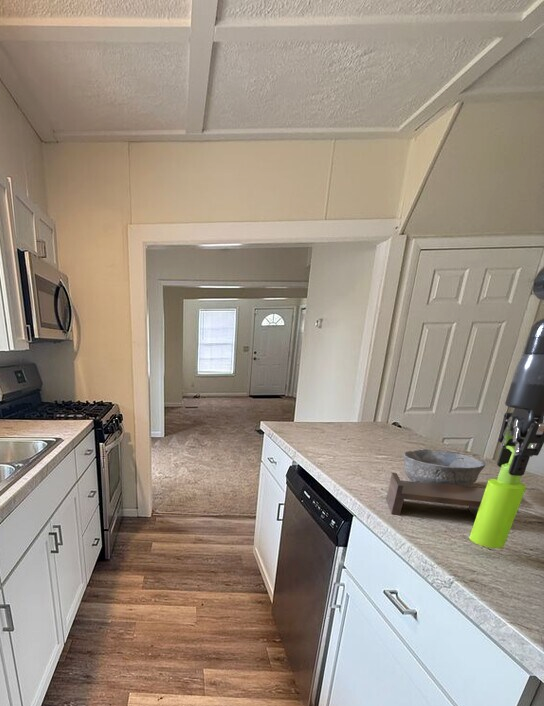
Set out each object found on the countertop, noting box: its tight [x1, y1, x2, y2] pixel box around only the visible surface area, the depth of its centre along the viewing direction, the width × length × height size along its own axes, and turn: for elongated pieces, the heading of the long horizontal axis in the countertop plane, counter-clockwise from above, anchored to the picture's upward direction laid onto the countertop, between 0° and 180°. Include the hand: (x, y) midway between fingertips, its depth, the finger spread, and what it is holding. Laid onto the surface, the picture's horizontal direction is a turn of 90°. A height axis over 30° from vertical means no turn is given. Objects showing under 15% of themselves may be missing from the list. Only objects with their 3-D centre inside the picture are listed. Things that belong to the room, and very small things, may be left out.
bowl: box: [403, 449, 487, 487], centre depth 122 cm, size 21×21×10 cm
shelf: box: [385, 472, 486, 518], centre depth 105 cm, size 22×12×8 cm, turn 69°
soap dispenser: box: [468, 446, 527, 549], centre depth 81 cm, size 6×7×20 cm
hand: (509, 470), depth 79 cm, fingers closed on soap dispenser, 5 cm apart
